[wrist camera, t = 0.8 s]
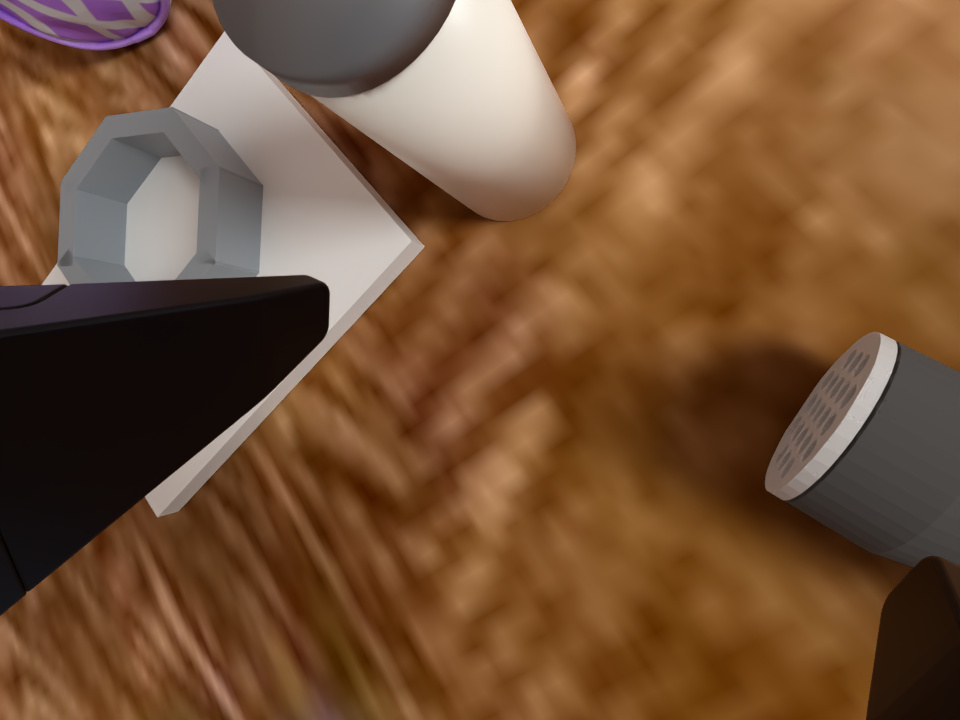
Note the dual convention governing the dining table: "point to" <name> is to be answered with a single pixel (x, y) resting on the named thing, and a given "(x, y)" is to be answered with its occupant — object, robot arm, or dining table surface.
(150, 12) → the pencil case
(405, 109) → the canister
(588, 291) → the dining table surface
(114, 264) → the socket plate
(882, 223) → the dining table surface
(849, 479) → the flashlight
